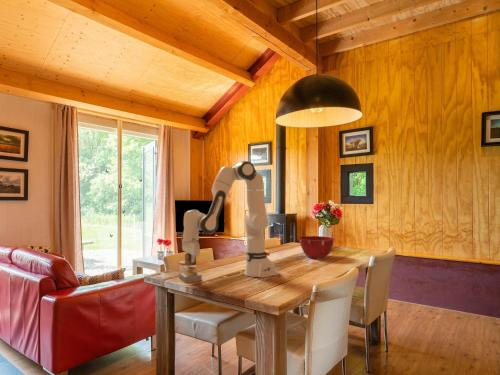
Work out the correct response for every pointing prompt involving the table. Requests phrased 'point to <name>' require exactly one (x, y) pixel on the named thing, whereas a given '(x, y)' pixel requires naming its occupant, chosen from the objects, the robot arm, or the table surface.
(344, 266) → the table surface
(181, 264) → the lidded jar
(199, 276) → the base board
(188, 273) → the oak block
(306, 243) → the mixing bowl
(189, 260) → the walnut block
